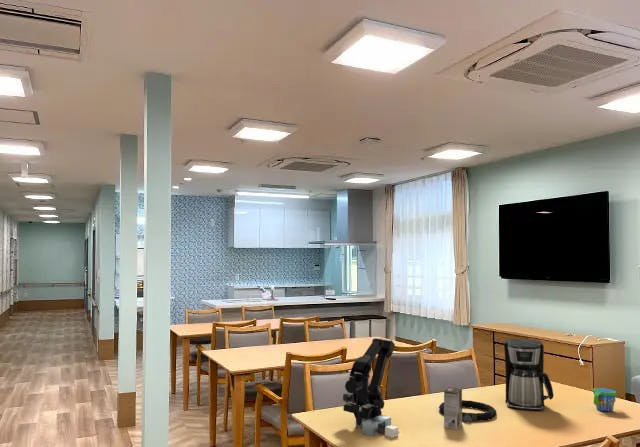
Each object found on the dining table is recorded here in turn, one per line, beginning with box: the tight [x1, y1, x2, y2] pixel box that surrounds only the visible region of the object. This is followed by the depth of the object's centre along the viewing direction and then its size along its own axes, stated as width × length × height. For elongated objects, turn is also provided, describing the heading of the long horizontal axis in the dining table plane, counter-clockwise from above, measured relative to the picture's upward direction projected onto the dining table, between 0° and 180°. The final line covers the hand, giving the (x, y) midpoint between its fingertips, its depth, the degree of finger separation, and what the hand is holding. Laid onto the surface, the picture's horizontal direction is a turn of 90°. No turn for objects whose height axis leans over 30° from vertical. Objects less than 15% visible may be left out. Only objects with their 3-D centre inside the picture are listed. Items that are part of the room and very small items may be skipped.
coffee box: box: [443, 386, 463, 430], centre depth 244 cm, size 9×6×16 cm
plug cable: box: [355, 418, 400, 439], centre depth 233 cm, size 22×4×4 cm, turn 47°
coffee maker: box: [503, 338, 554, 411], centre depth 288 cm, size 23×32×34 cm
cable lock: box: [438, 399, 498, 423], centre depth 264 cm, size 28×4×30 cm
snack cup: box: [592, 387, 617, 413], centre depth 276 cm, size 16×10×10 cm
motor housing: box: [361, 414, 392, 437], centre depth 233 cm, size 5×14×5 cm, turn 137°
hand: (361, 424), depth 239 cm, fingers closed on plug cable, 3 cm apart
